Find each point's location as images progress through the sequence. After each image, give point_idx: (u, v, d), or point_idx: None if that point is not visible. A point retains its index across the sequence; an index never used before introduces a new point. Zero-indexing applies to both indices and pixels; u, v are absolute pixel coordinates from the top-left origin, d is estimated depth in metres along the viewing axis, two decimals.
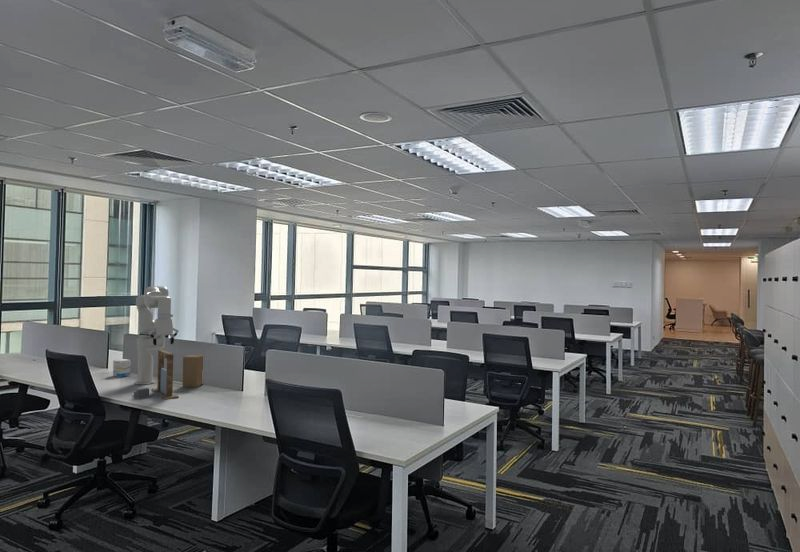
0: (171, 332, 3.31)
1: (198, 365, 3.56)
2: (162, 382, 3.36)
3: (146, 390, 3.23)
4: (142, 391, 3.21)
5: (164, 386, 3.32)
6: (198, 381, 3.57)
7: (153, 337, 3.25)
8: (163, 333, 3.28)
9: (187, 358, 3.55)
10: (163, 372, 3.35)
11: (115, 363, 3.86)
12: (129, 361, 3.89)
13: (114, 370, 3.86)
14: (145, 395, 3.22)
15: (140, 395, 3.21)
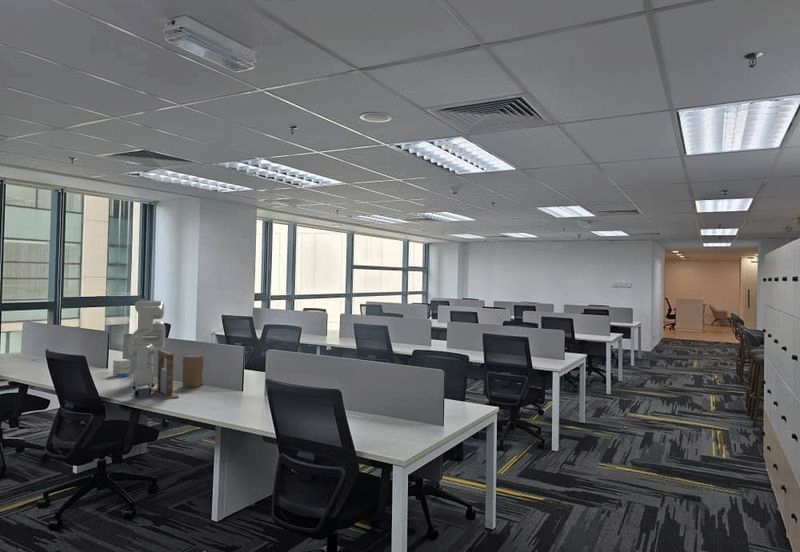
0: (151, 382, 3.24)
1: (198, 365, 3.56)
2: (162, 382, 3.36)
3: (146, 390, 3.23)
4: (142, 391, 3.21)
5: (164, 386, 3.32)
6: (198, 381, 3.57)
7: (135, 389, 3.20)
8: (143, 383, 3.22)
9: (187, 358, 3.55)
10: (163, 372, 3.35)
11: (115, 363, 3.86)
12: (129, 361, 3.89)
13: (114, 370, 3.86)
14: (145, 395, 3.22)
15: (140, 394, 3.21)
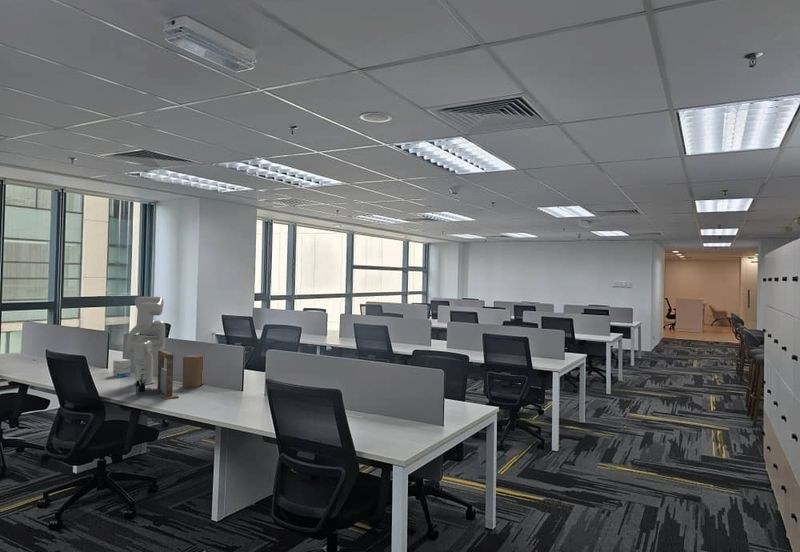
0: (138, 379, 3.25)
1: (198, 365, 3.56)
2: (162, 382, 3.36)
3: (137, 388, 3.27)
4: (136, 388, 3.29)
5: (164, 386, 3.32)
6: (198, 381, 3.57)
7: (136, 381, 3.33)
8: (136, 378, 3.29)
9: (187, 358, 3.55)
10: (163, 372, 3.35)
11: (115, 363, 3.86)
12: (129, 361, 3.89)
13: (114, 370, 3.86)
14: (136, 393, 3.28)
15: (136, 391, 3.30)
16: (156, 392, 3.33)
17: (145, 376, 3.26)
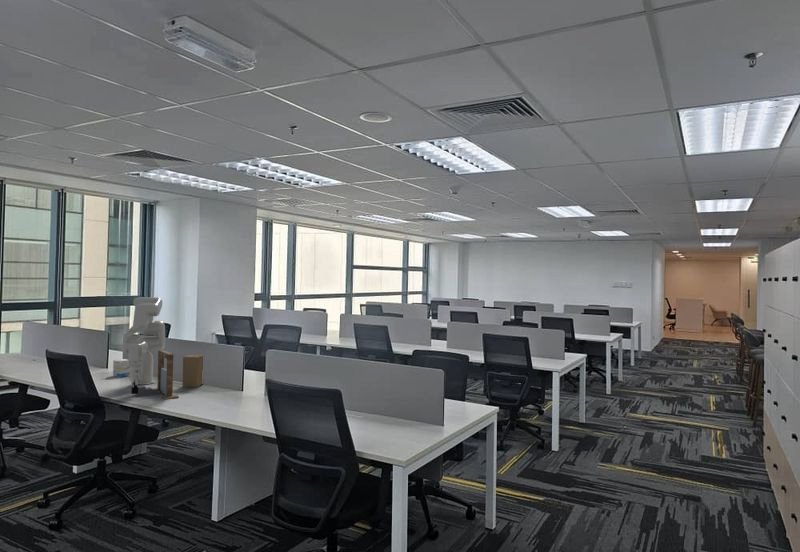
0: (132, 380, 3.23)
1: (198, 365, 3.56)
2: (162, 382, 3.36)
3: None
4: None
5: (164, 386, 3.32)
6: (198, 381, 3.57)
7: None
8: (131, 380, 3.27)
9: (187, 358, 3.55)
10: (163, 372, 3.35)
11: (115, 363, 3.86)
12: None
13: (114, 370, 3.86)
14: (137, 393, 3.28)
15: None
16: (157, 392, 3.33)
17: (139, 378, 3.24)
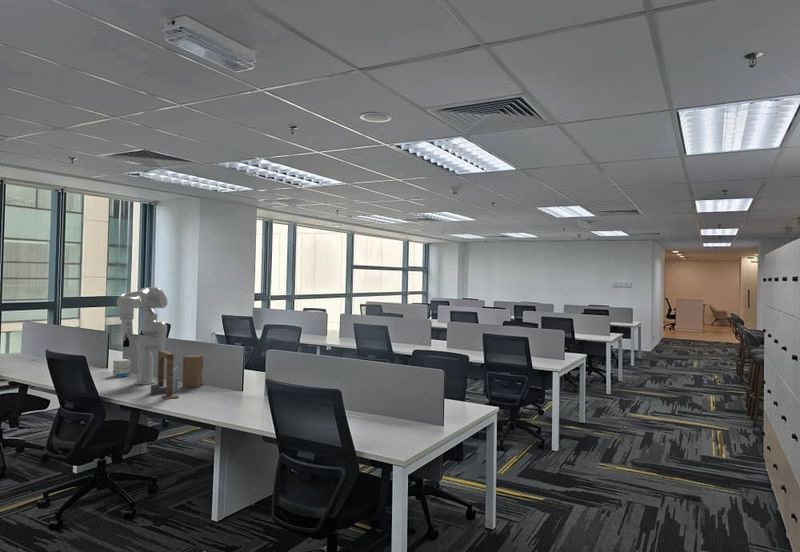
0: (124, 333, 3.27)
1: (198, 365, 3.56)
2: None
3: (151, 387, 3.32)
4: (151, 387, 3.34)
5: None
6: (198, 381, 3.57)
7: (123, 339, 3.32)
8: (122, 333, 3.30)
9: (187, 358, 3.55)
10: (173, 372, 3.37)
11: (115, 363, 3.86)
12: (129, 361, 3.89)
13: (114, 370, 3.86)
14: (151, 391, 3.33)
15: None
16: None
17: (131, 330, 3.28)
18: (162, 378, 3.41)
